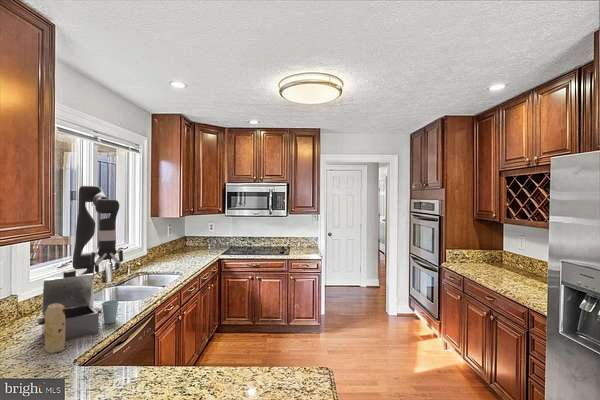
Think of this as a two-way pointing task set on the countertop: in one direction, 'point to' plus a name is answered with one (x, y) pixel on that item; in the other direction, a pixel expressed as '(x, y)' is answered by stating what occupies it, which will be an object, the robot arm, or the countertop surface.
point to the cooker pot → (78, 322)
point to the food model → (55, 328)
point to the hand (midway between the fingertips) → (107, 271)
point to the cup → (110, 311)
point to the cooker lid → (67, 290)
